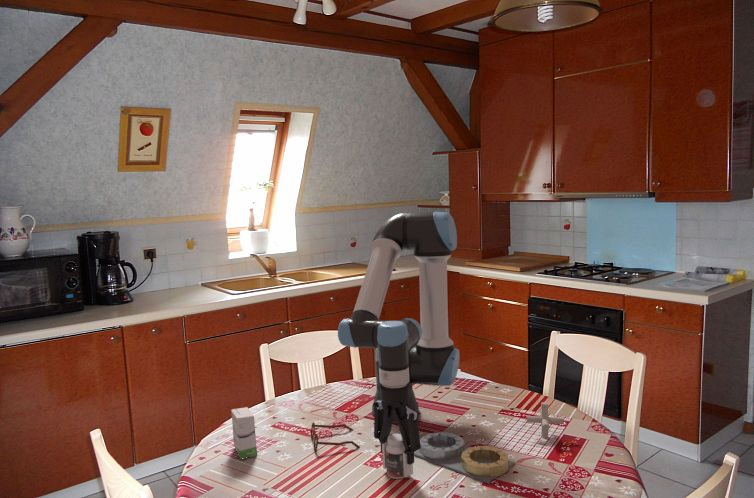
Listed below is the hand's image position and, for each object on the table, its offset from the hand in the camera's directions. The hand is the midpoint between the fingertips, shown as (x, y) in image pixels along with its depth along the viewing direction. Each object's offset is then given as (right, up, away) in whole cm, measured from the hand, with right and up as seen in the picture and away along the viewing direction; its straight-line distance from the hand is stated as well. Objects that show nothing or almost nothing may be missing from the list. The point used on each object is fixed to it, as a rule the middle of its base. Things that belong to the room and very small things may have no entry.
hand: (397, 470), depth 151 cm
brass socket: (+23, 0, +2) cm, 23 cm away
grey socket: (+12, +1, +12) cm, 17 cm away
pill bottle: (0, -1, 0) cm, 1 cm away
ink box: (-43, -1, +16) cm, 46 cm away
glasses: (-18, 0, +21) cm, 28 cm away
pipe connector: (+43, +3, +18) cm, 47 cm away
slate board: (+18, +1, +7) cm, 19 cm away
